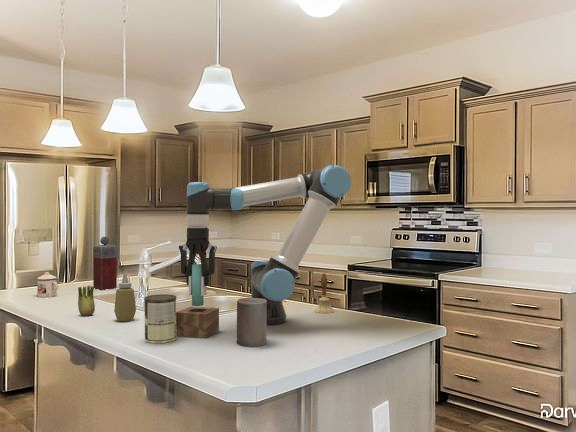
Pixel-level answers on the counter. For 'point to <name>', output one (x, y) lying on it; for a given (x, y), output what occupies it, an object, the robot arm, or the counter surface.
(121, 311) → the squeeze bottle
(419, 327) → the counter surface
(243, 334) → the pillar candle
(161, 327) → the coffee can
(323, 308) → the hand bell
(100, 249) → the glass decanter
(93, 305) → the fennel bulb
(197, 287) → the dowel
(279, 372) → the counter surface
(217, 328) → the socket block
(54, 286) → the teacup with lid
